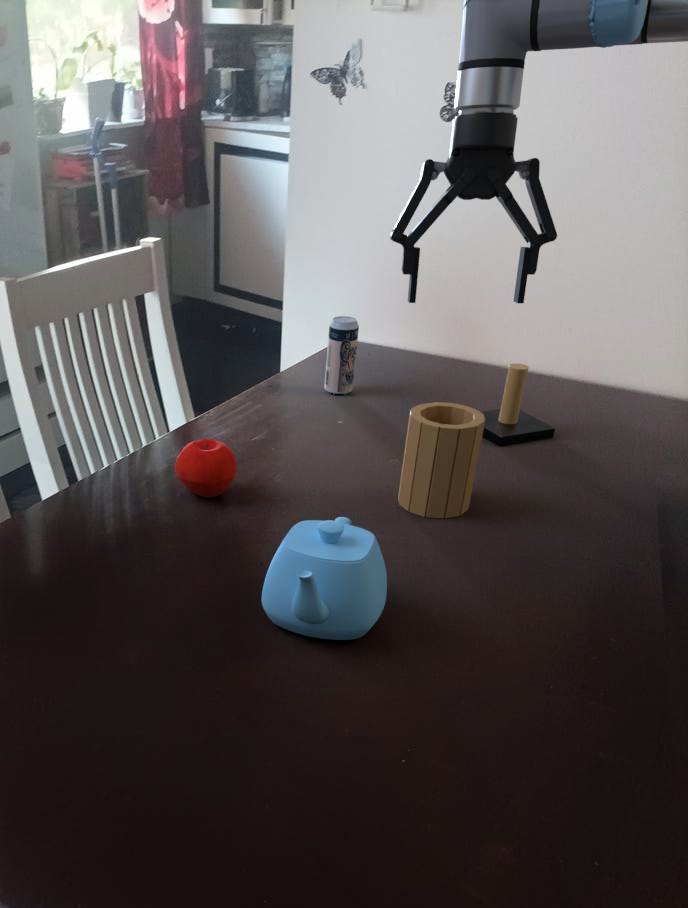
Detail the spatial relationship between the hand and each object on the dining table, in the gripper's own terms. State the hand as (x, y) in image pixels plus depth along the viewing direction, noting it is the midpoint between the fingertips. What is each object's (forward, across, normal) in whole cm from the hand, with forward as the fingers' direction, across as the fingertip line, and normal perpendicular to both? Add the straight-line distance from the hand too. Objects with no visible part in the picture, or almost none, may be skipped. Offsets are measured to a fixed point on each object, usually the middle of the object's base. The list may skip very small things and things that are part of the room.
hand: (464, 302), depth 117 cm
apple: (+23, +33, +11) cm, 42 cm away
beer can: (+18, +15, -31) cm, 39 cm away
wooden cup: (+24, +3, +10) cm, 26 cm away
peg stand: (+20, -11, -17) cm, 29 cm away
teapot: (+28, +18, +40) cm, 52 cm away
